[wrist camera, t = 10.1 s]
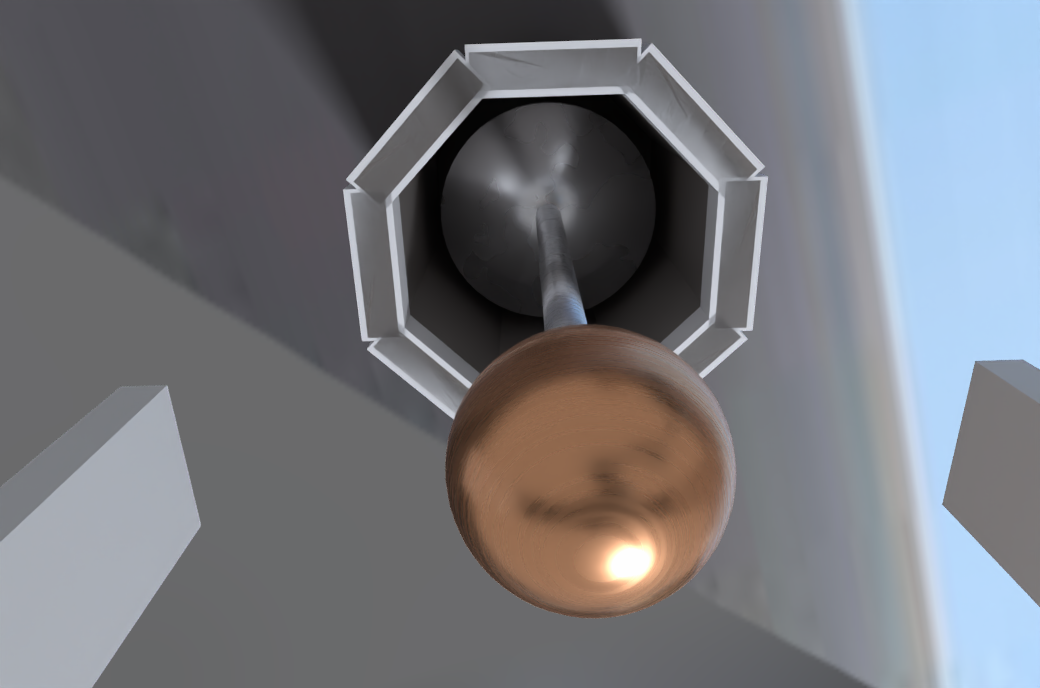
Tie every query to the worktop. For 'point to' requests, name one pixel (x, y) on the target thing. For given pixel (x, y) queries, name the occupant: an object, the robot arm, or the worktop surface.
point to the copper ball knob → (575, 379)
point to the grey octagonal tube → (657, 281)
